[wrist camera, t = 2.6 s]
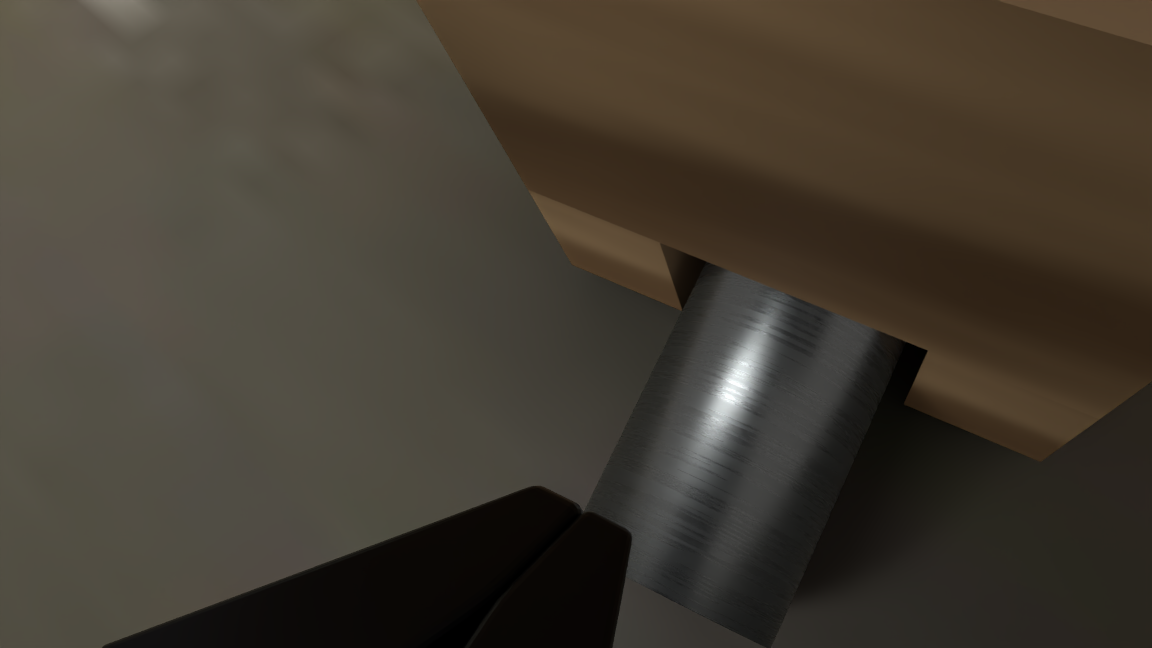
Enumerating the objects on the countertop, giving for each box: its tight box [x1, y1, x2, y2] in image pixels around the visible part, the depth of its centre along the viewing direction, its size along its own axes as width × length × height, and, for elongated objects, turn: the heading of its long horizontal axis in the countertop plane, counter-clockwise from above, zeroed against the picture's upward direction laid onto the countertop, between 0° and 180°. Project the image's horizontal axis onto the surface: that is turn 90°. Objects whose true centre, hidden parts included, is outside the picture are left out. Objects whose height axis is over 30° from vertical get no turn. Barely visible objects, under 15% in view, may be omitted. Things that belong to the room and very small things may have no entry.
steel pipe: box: [583, 262, 906, 648], centre depth 15 cm, size 16×3×3 cm, turn 153°
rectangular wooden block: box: [417, 0, 1152, 462], centre depth 11 cm, size 4×8×10 cm, turn 63°
